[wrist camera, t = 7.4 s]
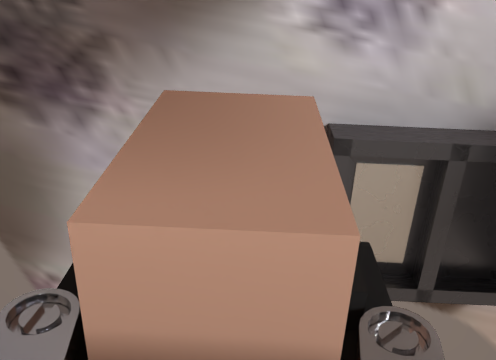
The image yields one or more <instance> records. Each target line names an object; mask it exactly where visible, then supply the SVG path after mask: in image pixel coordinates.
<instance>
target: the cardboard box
mask: <svg viewBox="0 0 496 360" xmlns="http://www.w3.org/2000/svg"><path fill="white" fill-rule="evenodd" d="M67 226H68V232H69V239H70V245H71V251H72V258H73V264H74V271H75V277H76V284H77V290H78V297H79V303H80V310H81V316H82V323H83V329H84V335H85V342H86V348H87V355H88V360H340V359H341V353H342V346H343V340H344V334H345V328H346V322H347V316H348V310H349V304H350V297H351V291H352V285H353V279H354V273H355V267H356V261H357V255H358V248H359V242H360V233H359V230H358V227H357V224H356V221H355V218H354V215H353V212H352V209H351V206H350V203H349V200H348V197H347V194H346V191H345V188H344V185H343V182H342V179H341V176H340V173H339V170H338V167H337V164H336V162H335V159H334V156H333V153H332V150H331V147H330V144H329V141H328V138H327V135H326V132H325V129H324V126H323V123H322V120H321V117H320V114H319V111H318V108H317V105H316V102H315V99H314V97H310V96H287V95H263V94H240V93H217V92H193V91H170V90H164V91H163V93H162V94H161V95H160V97H159V98H158V99H157V101H156V102H155V103H154V105H153V106H152V107H151V109H150V110H149V112H148V113H147V114H146V116H145V117H144V118H143V120H142V121H141V122H140V124H139V125H138V127H137V128H136V129H135V131H134V132H133V133H132V135H131V136H130V137H129V139H128V140H127V141H126V143H125V144H124V146H123V147H122V148H121V150H120V151H119V152H118V154H117V155H116V156H115V158H114V159H113V160H112V162H111V163H110V165H109V166H108V167H107V169H106V170H105V171H104V173H103V174H102V175H101V177H100V178H99V179H98V181H97V182H96V184H95V185H94V186H93V188H92V189H91V190H90V192H89V193H88V194H87V196H86V197H85V199H84V200H83V201H82V203H81V204H80V205H79V207H78V208H77V209H76V211H75V212H74V213H73V215H72V216H71V218H70V219H69V220H68V222H67Z"/></svg>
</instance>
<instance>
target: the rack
mask: <svg viewBox="0 0 496 360" xmlns="http://www.w3.org/2000/svg"><path fill="white" fill-rule="evenodd" d="M327 138H328V141H329V144H330V147H331V150H332V153H333V156H334V159H335V162H336V164H337V167H338V170H339V173H340V176H341V179H342V182H343V185H344V188H345V191H346V194H347V197H348V200H349V203H350V206H351V209H352V212H353V215H354V218H355V221H356V224H357V227H358V230H359V233H360V241H361V242H369V243H370V245H371V247H372V250H373V253H374V255H375V258H376V261H377V264H378V267H379V269H380V272H381V275H382V278H383V281H384V283H385V286H386V289H387V292H388V295H389V297H390V300H391V301H409V302H430V303H451V304H471V305H492V306H496V131H481V130H459V129H437V128H415V127H393V126H371V125H349V124H329V126H328V134H327Z"/></svg>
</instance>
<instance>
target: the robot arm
mask: <svg viewBox="0 0 496 360" xmlns="http://www.w3.org/2000/svg"><path fill="white" fill-rule="evenodd" d="M0 360H88V355H87V348H86V342H85V335H84V329H83V323H82V316H81V310H80V303H79V297H78V290H77V284H76V277H75V271H74V264H72V265H71V267H70V268H69V270H68V272H67V273H66V275H65V276H64V278H63V280H62V281H61V283H60V284H59V286H58V288H57V289H54V288H47V289H40V290H35V291H32V292H29V293H25V294H23V295H21V296H19V297H18V298H15V299H14V300H12V301H11V302H10V303H9V304H7V305H6V306H5V307H4V308H3V309H2V311H1V312H0ZM340 360H445V358H444V354H443V350H442V346H441V342H440V339H439V336H438V334H437V332H436V330H435V329H434V328H433V326H432V325H431V324H430V323H429V322H428V321H426V320H425V319H424V318H422V317H421V316H420V315H418V314H416V313H414V312H411V311H409V310H407V309H403V308H399V307H394V306H392V303H391V300H390V297H389V295H388V292H387V289H386V286H385V283H384V281H383V278H382V275H381V272H380V269H379V267H378V264H377V261H376V258H375V255H374V253H373V250H372V247H371V245H370V243H369V242H361V241H360V242H359V248H358V255H357V261H356V267H355V273H354V279H353V285H352V291H351V297H350V304H349V310H348V316H347V322H346V328H345V334H344V340H343V346H342V353H341V359H340Z"/></svg>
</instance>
